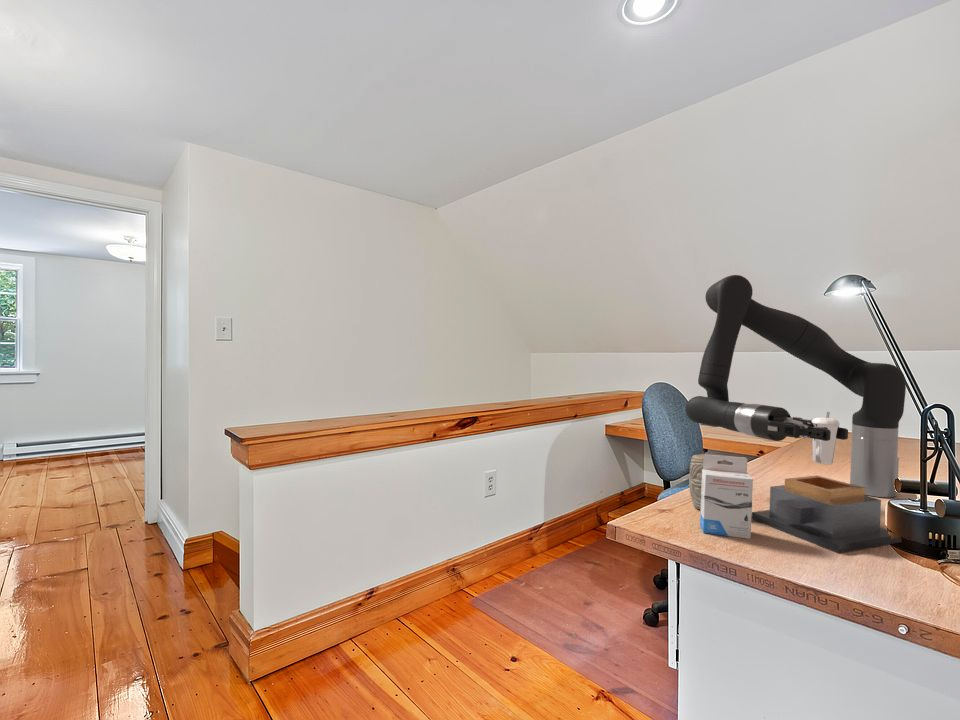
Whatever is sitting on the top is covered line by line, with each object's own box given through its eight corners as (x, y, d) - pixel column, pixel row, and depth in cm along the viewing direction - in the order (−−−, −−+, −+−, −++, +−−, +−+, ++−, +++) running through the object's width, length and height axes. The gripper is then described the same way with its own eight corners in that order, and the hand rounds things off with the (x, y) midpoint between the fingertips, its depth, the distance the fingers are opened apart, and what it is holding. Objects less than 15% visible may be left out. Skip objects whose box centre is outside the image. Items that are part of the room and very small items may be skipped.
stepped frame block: (809, 511, 109) (810, 469, 109) (901, 542, 92) (903, 492, 92) (748, 519, 103) (749, 475, 103) (834, 553, 86) (836, 500, 86)
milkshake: (838, 462, 98) (842, 413, 98) (834, 466, 94) (838, 415, 94) (811, 458, 101) (815, 410, 101) (806, 461, 97) (810, 412, 97)
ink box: (702, 533, 95) (705, 458, 94) (699, 525, 100) (701, 453, 99) (751, 539, 92) (754, 462, 92) (746, 530, 97) (748, 457, 97)
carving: (695, 502, 114) (696, 451, 114) (729, 510, 109) (730, 457, 109) (683, 508, 110) (684, 455, 110) (717, 516, 105) (719, 461, 104)
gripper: (738, 405, 109) (812, 417, 92) (785, 404, 113) (864, 414, 97) (736, 439, 109) (810, 456, 93) (784, 436, 113) (862, 452, 97)
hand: (837, 434), depth 95 cm, fingers closed on milkshake, 4 cm apart
